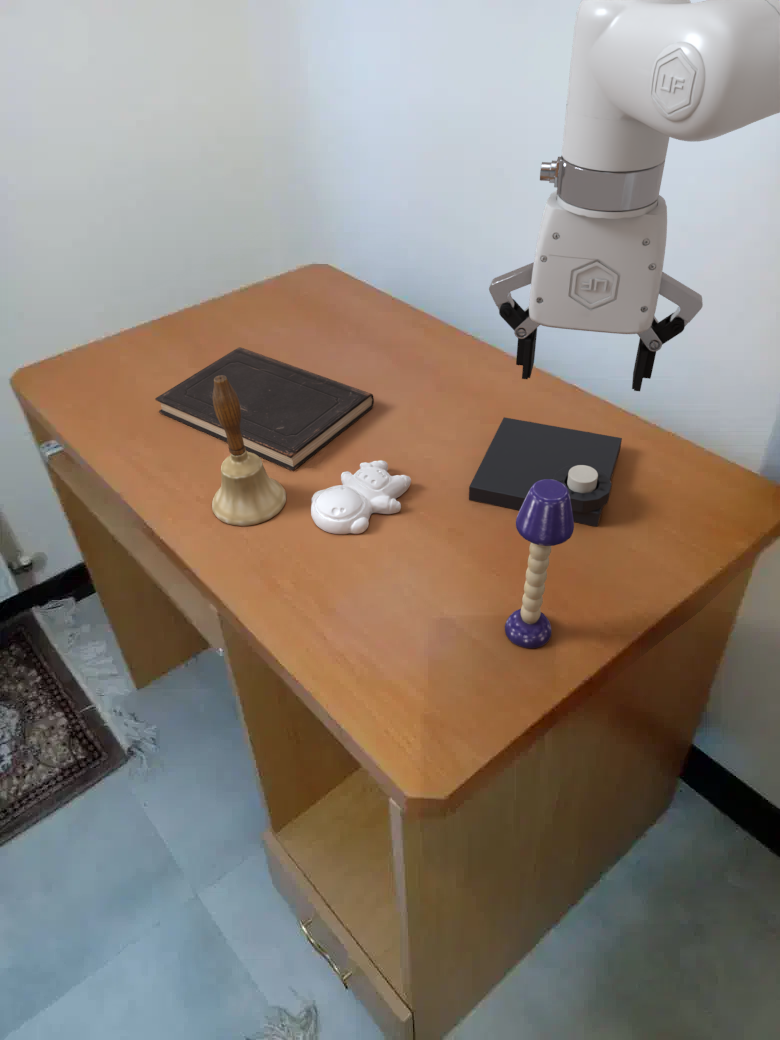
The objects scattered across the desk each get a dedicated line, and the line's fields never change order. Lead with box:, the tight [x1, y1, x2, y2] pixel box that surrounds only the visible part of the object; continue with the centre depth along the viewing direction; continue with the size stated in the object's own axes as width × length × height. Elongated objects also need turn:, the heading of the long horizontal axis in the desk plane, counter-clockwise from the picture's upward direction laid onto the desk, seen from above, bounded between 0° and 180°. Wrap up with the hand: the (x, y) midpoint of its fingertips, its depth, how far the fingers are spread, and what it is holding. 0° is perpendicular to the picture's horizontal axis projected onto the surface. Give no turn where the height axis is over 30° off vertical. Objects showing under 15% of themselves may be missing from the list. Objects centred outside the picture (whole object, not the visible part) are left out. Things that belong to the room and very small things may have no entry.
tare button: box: [567, 465, 598, 493], centre depth 82 cm, size 3×3×2 cm
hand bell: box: [211, 375, 287, 527], centre depth 83 cm, size 8×8×16 cm
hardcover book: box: [155, 346, 375, 472], centre depth 101 cm, size 16×23×2 cm
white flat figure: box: [310, 459, 412, 535], centre depth 86 cm, size 9×12×3 cm
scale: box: [468, 416, 623, 528], centre depth 88 cm, size 14×14×4 cm
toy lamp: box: [504, 479, 575, 649], centre depth 67 cm, size 5×5×17 cm
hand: (581, 377), depth 71 cm, fingers open, 9 cm apart
